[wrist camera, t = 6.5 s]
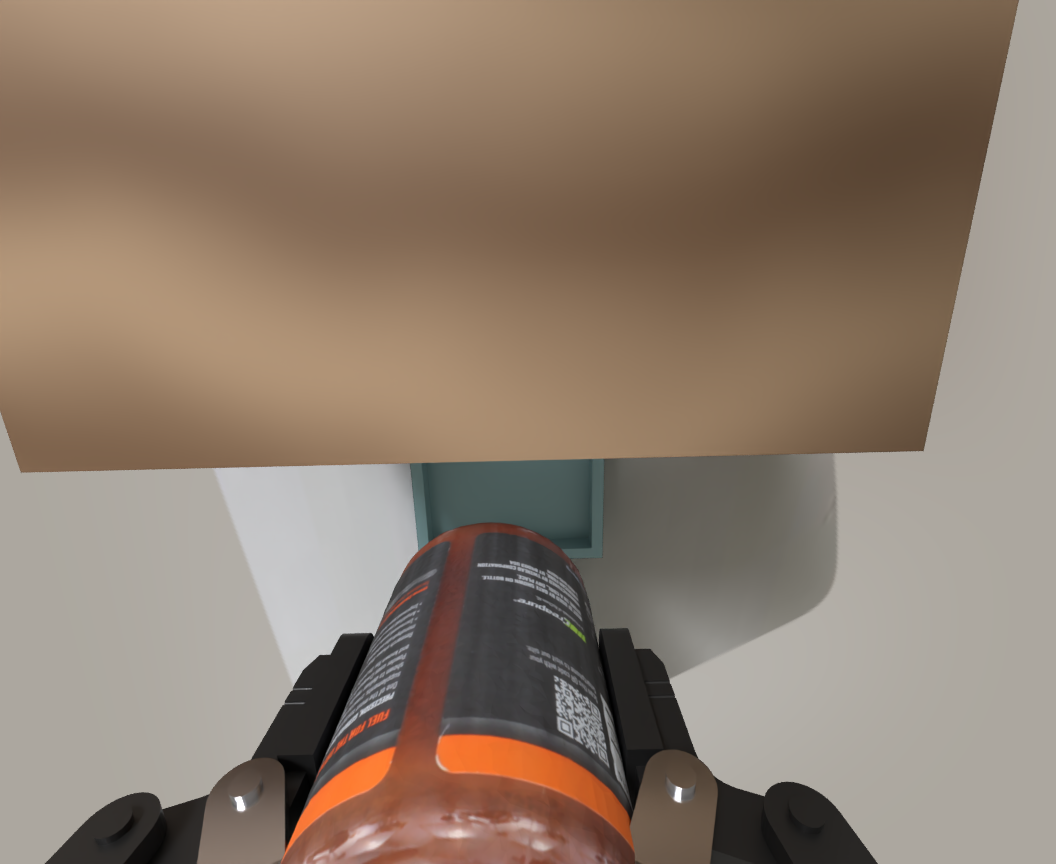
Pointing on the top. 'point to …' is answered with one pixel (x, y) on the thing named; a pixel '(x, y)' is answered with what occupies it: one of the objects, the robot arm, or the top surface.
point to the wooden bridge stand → (482, 226)
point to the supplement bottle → (475, 720)
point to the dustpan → (514, 499)
